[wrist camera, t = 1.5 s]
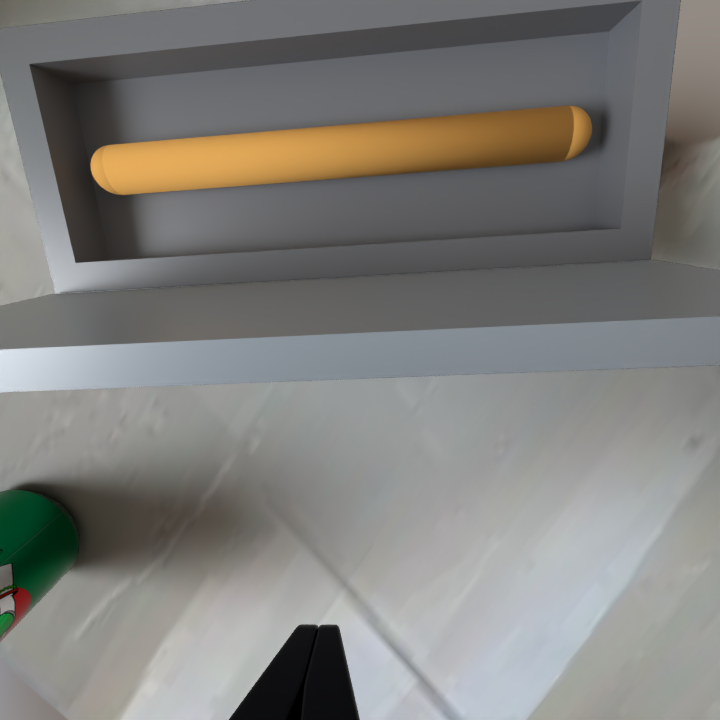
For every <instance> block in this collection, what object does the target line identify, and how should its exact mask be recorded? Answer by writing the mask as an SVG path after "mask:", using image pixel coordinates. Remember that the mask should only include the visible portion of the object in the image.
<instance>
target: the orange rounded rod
mask: <svg viewBox="0 0 720 720" xmlns="http://www.w3.org/2000/svg"><path fill="white" fill-rule="evenodd" d="M591 134H592V123H591V119H590V117H589V116H588V114H587V113H586V112H585V111H584V110H583V109H581V108H580V107H576V106H568V105H567V106H556V107H544V108H532V109H521V110H509V111H498V112H486V113H474V114H463V115H451V116H439V117H428V118H416V119H404V120H393V121H381V122H370V123H358V124H346V125H335V126H323V127H311V128H300V129H288V130H276V131H265V132H253V133H241V134H230V135H218V136H207V137H195V138H183V139H172V140H160V141H148V142H137V143H125V144H113V145H106V146H103V147H101V148H99V149H98V150H97V151H96V152H95V153H94V154H93V156H92V159H91V172H92V175H93V177H94V179H95V180H96V182H97V183H98V184H99V185H100V186H101V187H102V188H103V189H105V190H106V191H108V192H110V193H113V194H117V195H129V194H142V193H156V192H169V191H182V190H195V189H208V188H222V187H235V186H248V185H261V184H274V183H288V182H301V181H314V180H327V179H340V178H353V177H367V176H380V175H393V174H406V173H419V172H433V171H446V170H459V169H472V168H485V167H499V166H512V165H525V164H538V163H551V162H562V161H567V160H570V159H572V158H574V157H576V156H577V155H579V154H580V153H581V152H582V151H583V150H584V148H585V147H586V146H587V144H588V142H589V140H590V138H591Z"/></svg>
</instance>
